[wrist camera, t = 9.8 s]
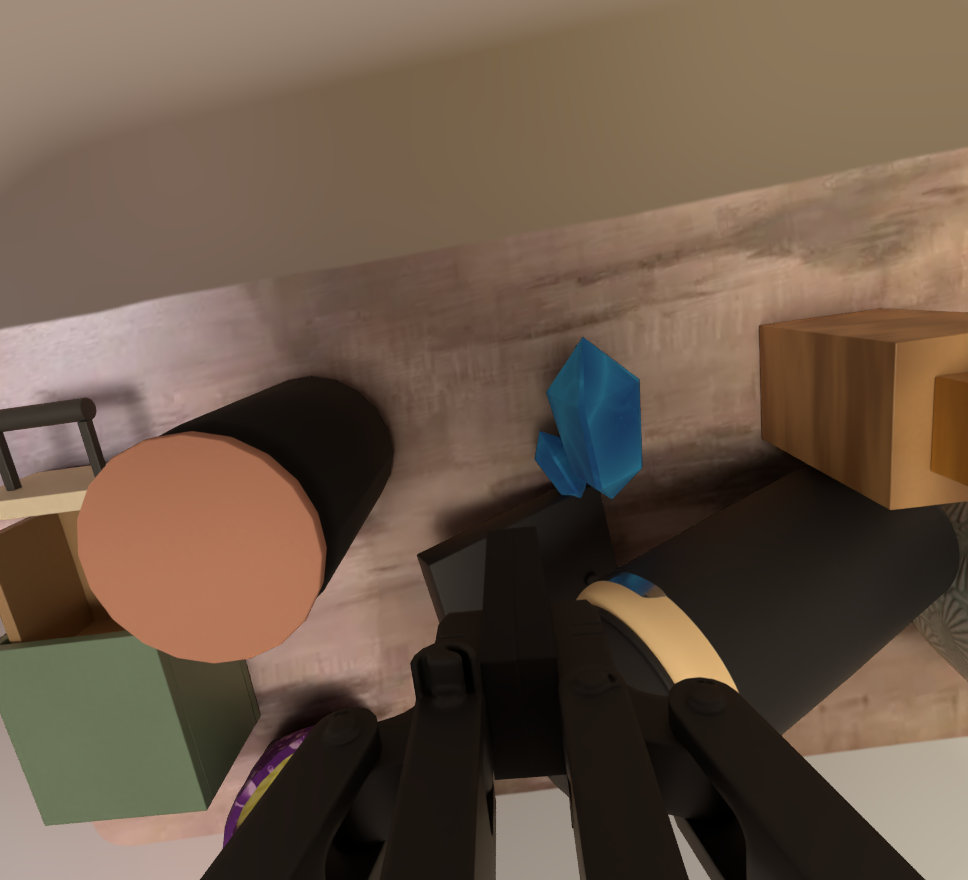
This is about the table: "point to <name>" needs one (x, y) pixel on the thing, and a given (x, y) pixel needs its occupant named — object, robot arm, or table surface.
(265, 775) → the decorative mushroom
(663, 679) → the light fixture
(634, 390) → the crystal
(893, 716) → the table surface
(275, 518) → the coffee jar
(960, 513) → the planter
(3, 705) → the cabinet
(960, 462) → the block
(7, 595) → the drawer
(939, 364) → the stand
